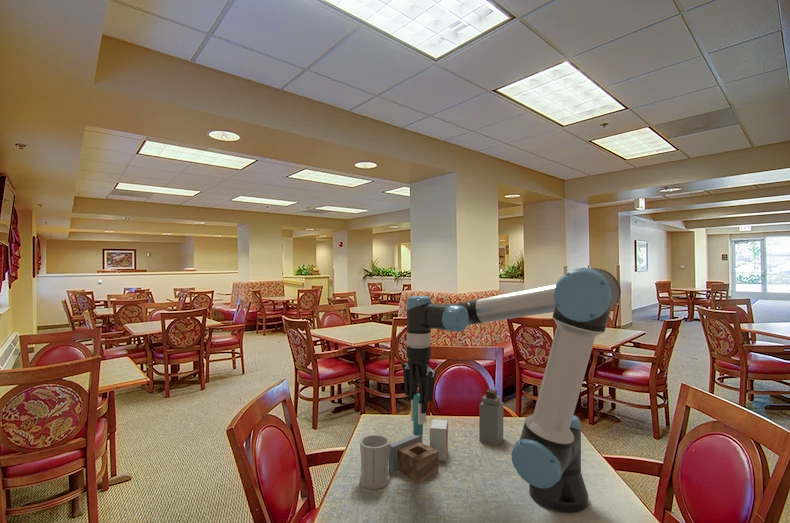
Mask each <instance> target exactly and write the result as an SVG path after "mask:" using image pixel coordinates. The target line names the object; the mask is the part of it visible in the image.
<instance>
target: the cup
mask: <svg viewBox="0 0 790 523" xmlns="http://www.w3.org/2000/svg"><path fill="white" fill-rule="evenodd" d="M390 442H391V441H390V438H388V437H387V436H385V435H382V434H370V435H366V436H364V437H362V438H360V440H359V449H360V464H361V466H360V467H361V468H360V469H361V471H360V475H359V483H360V484H361V486H362V487H364V488H366V489H369V490H379V489H382V488H385V487H386V486H387V485H388V484H389V483H390V474H389V457H390V454H391V445H390V444H391V443H390Z"/></svg>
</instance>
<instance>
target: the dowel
mask: <svg viewBox="0 0 790 523" xmlns="http://www.w3.org/2000/svg"><path fill="white" fill-rule="evenodd" d="M419 401H420V393H419V392H417V393H416V394H414V395H413V421H412V422H413V424H412V426H413V428H412V433H413V434H412V435H416V436H421V435H422V436H423V435H424V423H422V424H418V402H419Z"/></svg>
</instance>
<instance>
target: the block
mask: <svg viewBox="0 0 790 523" xmlns="http://www.w3.org/2000/svg"><path fill="white" fill-rule="evenodd" d="M439 461H440V460H439V451H438V450H435V449H433V448H431V447H430V445H427V444H425V443H423V442H422V443H421V442H419V441H417V442H415V443H413V444H410V445H408V446H405V447H403V448H400V449H398V471H397V472H399V473H401V474H402V475H404V476H406V477H408V478H409V479H411V480H412V481H414V482H416V483H419V482H423V481H424V480H426V479H428V478H430V477H432V476H433V475H435V474H438V473H439V466H440V465H439V464H440V463H439Z"/></svg>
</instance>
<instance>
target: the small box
mask: <svg viewBox="0 0 790 523" xmlns="http://www.w3.org/2000/svg"><path fill="white" fill-rule="evenodd" d="M448 426H449V420H446V419H431V423H430V426H429V447H431V448H433V449H435V450H438V451H439V461H441V462H442V461H444V462H445V461H447V458H448V451H449V446H448V445H449V443H448V442H449V436H448V435H449V427H448Z"/></svg>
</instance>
